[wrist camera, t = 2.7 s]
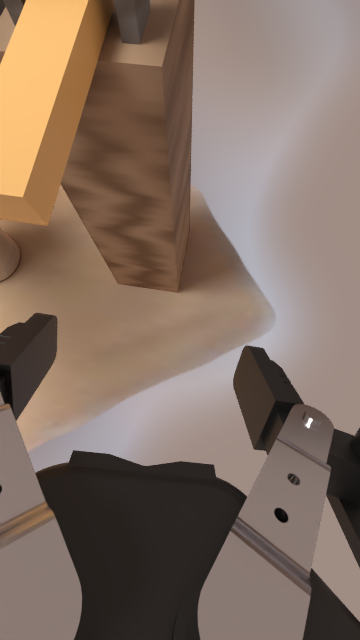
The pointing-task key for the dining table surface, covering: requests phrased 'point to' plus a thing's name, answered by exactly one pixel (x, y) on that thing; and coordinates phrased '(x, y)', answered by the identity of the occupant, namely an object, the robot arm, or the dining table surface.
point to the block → (45, 99)
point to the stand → (135, 140)
